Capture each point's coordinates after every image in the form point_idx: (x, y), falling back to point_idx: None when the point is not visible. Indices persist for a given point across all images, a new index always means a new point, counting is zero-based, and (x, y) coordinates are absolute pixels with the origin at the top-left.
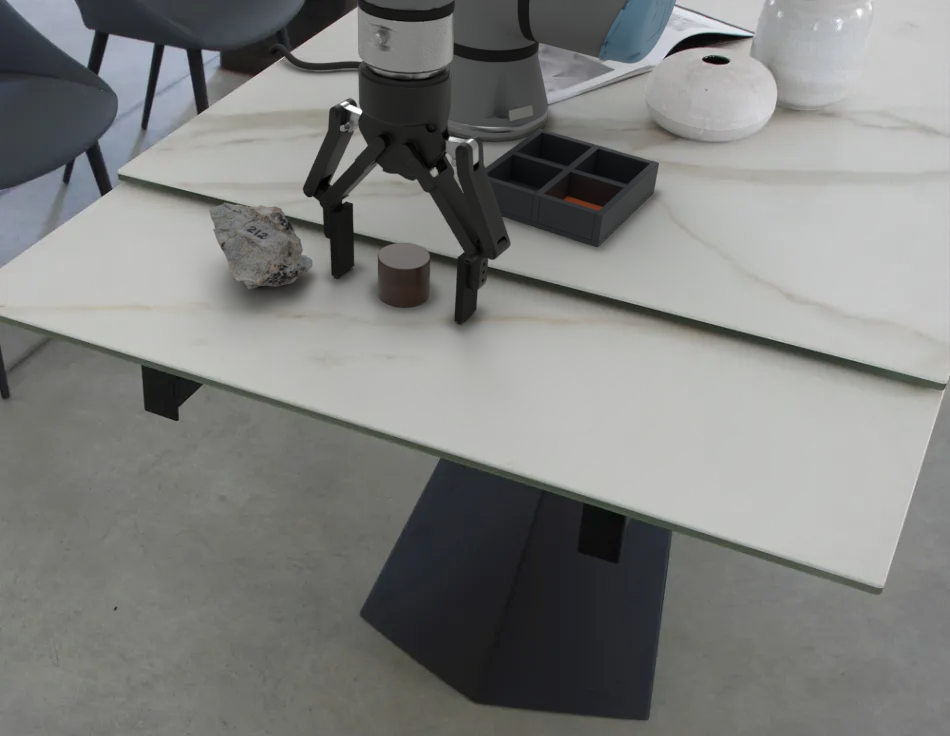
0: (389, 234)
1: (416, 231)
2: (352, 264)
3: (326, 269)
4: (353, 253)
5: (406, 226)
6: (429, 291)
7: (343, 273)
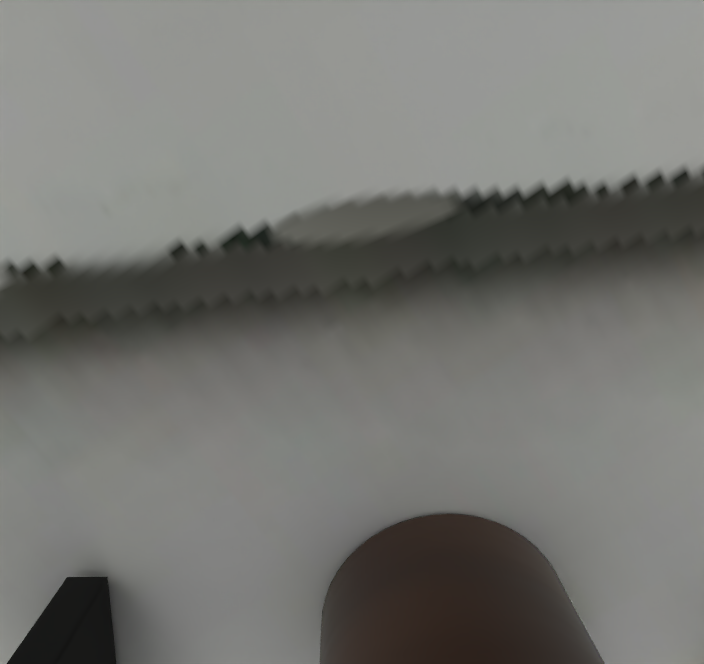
0: (18, 173)
1: (124, 33)
2: (104, 603)
3: None
4: (76, 630)
5: (32, 13)
6: (559, 580)
7: (115, 659)
